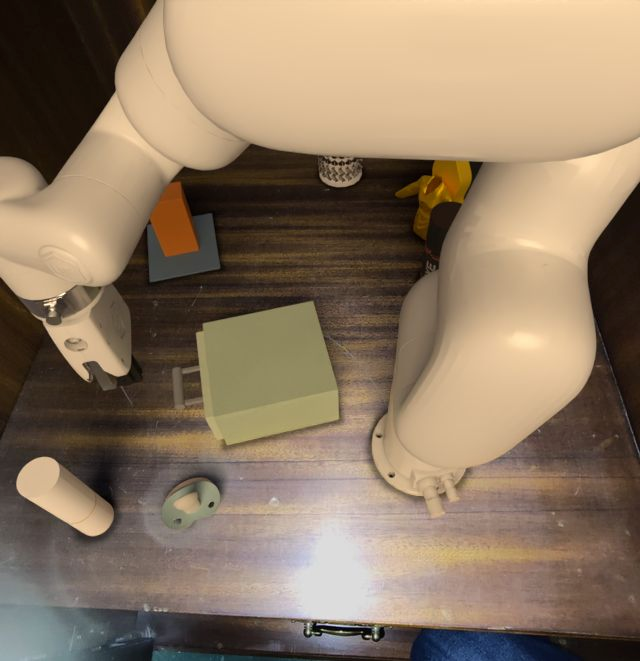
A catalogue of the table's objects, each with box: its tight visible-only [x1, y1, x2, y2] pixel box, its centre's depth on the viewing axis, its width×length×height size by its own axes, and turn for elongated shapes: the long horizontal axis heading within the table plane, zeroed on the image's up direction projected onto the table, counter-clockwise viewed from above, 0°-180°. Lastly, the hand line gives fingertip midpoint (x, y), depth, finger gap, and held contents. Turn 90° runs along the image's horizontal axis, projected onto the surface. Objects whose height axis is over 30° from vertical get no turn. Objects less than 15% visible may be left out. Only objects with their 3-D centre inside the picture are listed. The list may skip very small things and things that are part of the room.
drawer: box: [171, 330, 224, 441], centre depth 71 cm, size 19×13×7 cm
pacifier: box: [160, 477, 221, 531], centre depth 63 cm, size 7×6×6 cm
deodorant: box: [418, 201, 462, 280], centre depth 78 cm, size 6×6×15 cm
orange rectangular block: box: [149, 181, 199, 257], centre depth 87 cm, size 4×6×12 cm
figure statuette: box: [394, 160, 472, 241], centre depth 82 cm, size 18×8×22 cm, turn 33°
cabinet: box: [202, 300, 340, 446], centre depth 71 cm, size 16×15×9 cm
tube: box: [15, 456, 115, 537], centre depth 59 cm, size 4×4×15 cm
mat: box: [146, 212, 221, 283], centre depth 92 cm, size 14×12×1 cm
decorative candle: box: [317, 155, 364, 188], centre depth 91 cm, size 9×9×25 cm
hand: (130, 378), depth 65 cm, fingers closed
